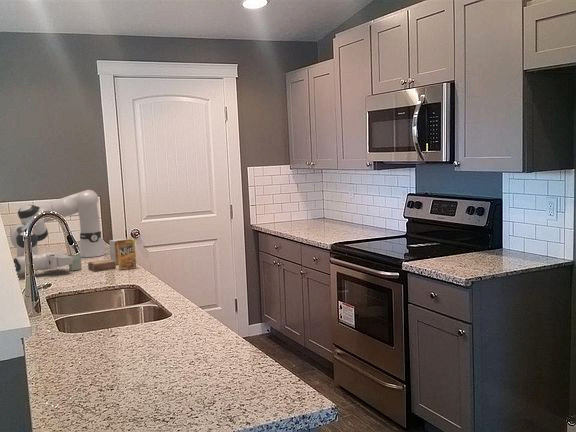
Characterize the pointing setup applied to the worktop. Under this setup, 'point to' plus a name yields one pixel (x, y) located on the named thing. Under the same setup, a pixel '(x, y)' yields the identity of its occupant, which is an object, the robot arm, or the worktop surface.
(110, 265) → the base
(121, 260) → the candy box
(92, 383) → the worktop surface
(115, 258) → the small box
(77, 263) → the block
